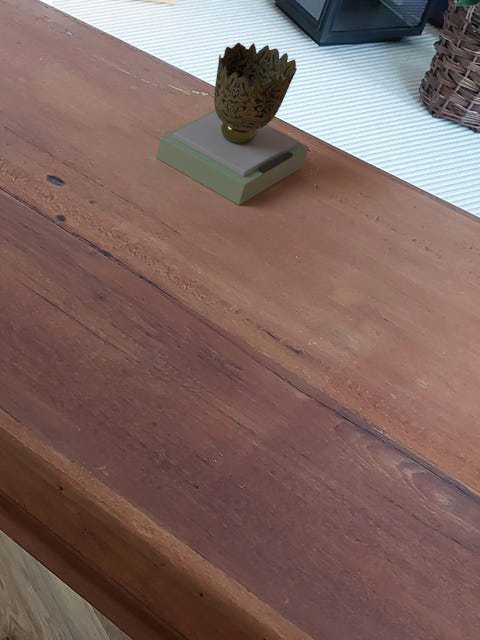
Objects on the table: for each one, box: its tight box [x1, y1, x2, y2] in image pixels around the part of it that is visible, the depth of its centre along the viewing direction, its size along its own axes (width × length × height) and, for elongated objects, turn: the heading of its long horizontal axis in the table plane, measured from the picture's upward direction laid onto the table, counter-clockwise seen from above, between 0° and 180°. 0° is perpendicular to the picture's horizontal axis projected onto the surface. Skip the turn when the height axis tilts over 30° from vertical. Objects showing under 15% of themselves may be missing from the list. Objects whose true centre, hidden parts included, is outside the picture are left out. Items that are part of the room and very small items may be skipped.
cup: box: [213, 42, 297, 143], centre depth 89 cm, size 8×7×8 cm
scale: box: [156, 109, 310, 206], centre depth 93 cm, size 11×11×3 cm
